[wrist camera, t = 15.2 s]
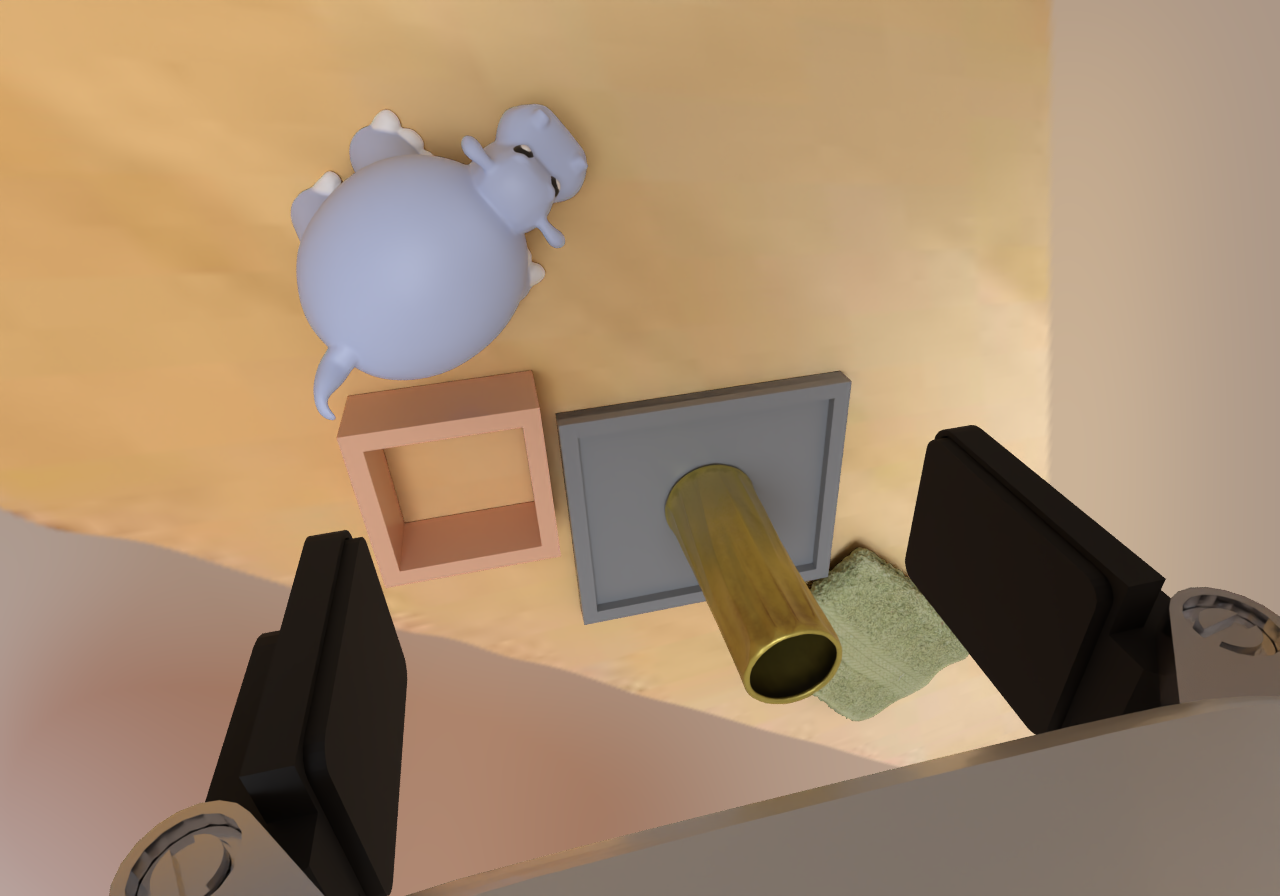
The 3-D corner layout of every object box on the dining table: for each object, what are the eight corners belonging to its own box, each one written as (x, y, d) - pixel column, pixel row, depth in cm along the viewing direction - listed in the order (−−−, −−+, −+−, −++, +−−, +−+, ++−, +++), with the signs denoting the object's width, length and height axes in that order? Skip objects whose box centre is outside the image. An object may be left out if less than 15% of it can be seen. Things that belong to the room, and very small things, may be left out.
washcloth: (850, 712, 65) (867, 743, 62) (731, 634, 55) (745, 667, 53) (968, 624, 62) (992, 652, 59) (864, 526, 52) (886, 554, 50)
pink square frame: (531, 370, 41) (539, 407, 37) (552, 511, 46) (561, 556, 42) (347, 396, 39) (336, 438, 35) (391, 538, 44) (385, 588, 41)
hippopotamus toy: (626, 201, 37) (673, 256, 29) (423, 389, 40) (415, 484, 32) (470, 13, 31) (476, 16, 23) (247, 247, 34) (185, 321, 26)
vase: (752, 454, 46) (855, 611, 34) (753, 527, 49) (848, 694, 37) (660, 473, 45) (733, 641, 33) (667, 547, 49) (737, 723, 37)
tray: (840, 371, 45) (851, 381, 44) (819, 563, 54) (828, 576, 52) (555, 413, 42) (558, 426, 41) (581, 609, 51) (584, 624, 50)
